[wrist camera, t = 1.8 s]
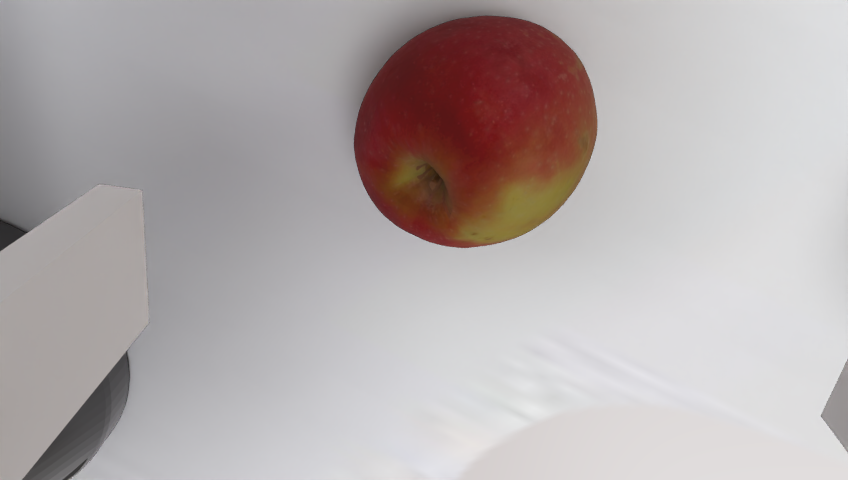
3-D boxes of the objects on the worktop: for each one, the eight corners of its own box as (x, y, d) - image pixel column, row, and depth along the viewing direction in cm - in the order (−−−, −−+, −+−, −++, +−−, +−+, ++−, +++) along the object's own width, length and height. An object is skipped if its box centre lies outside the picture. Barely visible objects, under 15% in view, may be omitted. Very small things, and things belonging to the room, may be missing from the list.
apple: (378, -9, 25) (345, 15, 17) (596, 17, 25) (652, 51, 17) (364, 183, 28) (331, 272, 21) (557, 206, 28) (591, 302, 21)
